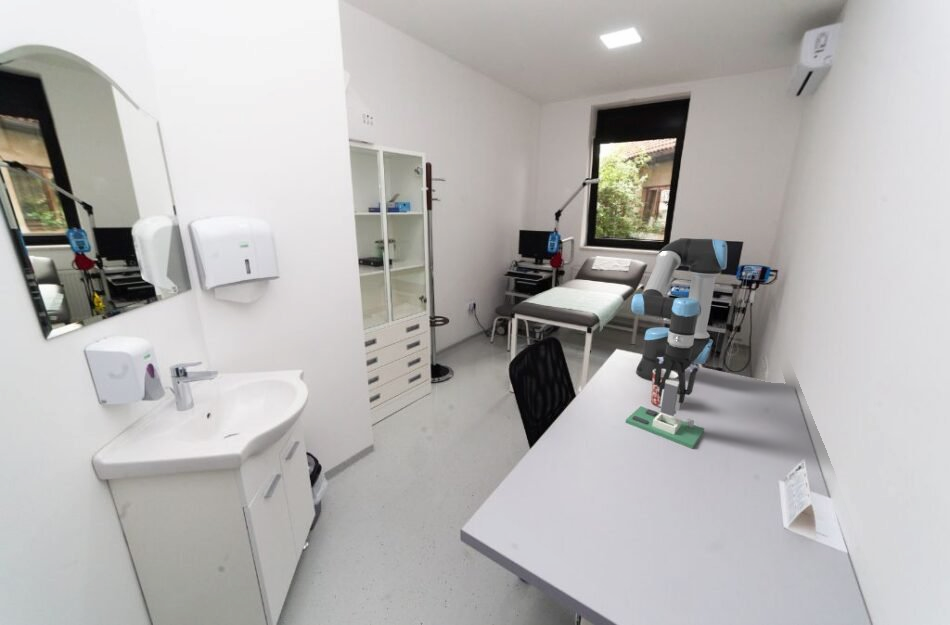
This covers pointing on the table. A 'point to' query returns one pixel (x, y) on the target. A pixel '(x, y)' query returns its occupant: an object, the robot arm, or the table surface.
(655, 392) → the mug
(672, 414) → the plug
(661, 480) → the table surface
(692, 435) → the board
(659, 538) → the table surface
